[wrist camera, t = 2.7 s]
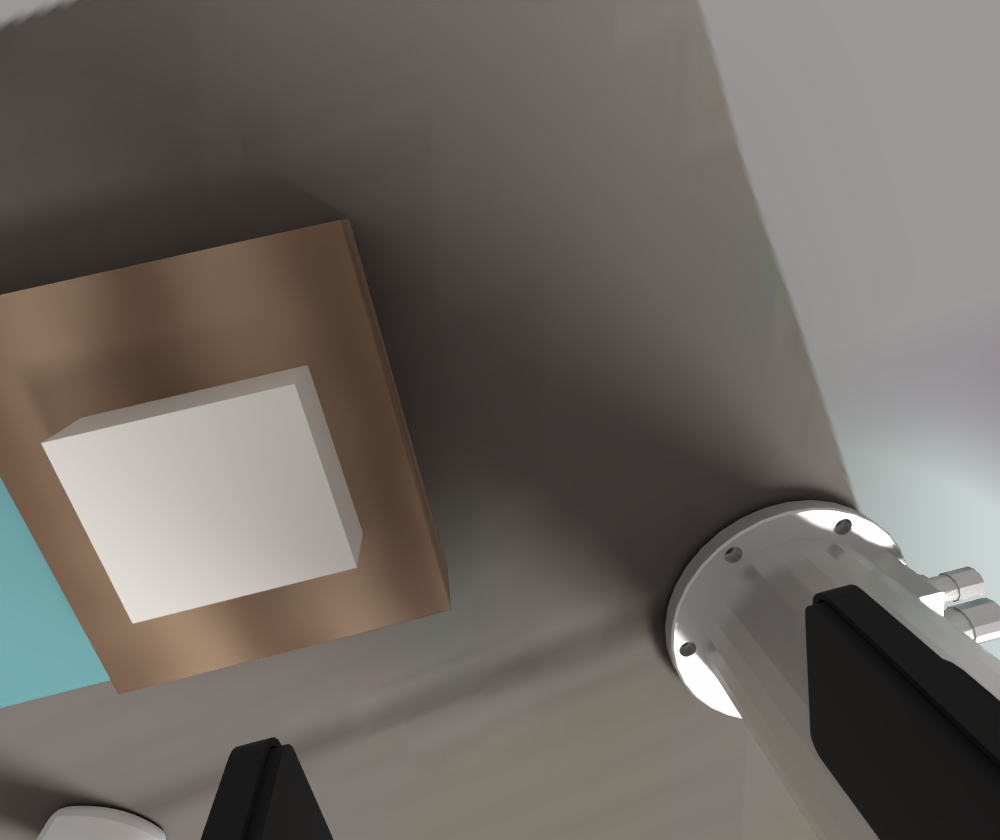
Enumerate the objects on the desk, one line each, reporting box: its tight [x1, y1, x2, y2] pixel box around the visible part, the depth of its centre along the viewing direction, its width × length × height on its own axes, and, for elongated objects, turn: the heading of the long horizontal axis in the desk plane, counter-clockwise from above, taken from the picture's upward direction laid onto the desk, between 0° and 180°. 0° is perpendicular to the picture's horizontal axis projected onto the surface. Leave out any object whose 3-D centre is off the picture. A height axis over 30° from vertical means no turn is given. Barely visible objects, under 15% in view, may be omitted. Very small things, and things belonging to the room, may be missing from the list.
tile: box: [41, 365, 363, 624], centre depth 22 cm, size 8×7×2 cm
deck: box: [0, 218, 451, 694], centre depth 24 cm, size 14×16×3 cm
